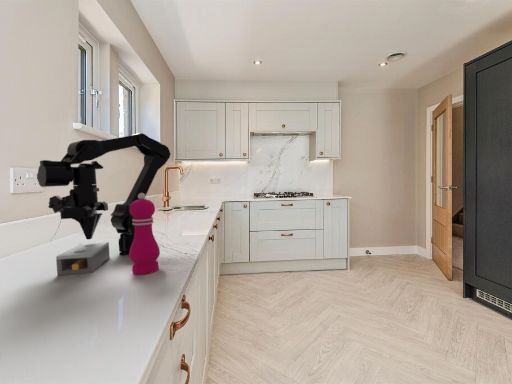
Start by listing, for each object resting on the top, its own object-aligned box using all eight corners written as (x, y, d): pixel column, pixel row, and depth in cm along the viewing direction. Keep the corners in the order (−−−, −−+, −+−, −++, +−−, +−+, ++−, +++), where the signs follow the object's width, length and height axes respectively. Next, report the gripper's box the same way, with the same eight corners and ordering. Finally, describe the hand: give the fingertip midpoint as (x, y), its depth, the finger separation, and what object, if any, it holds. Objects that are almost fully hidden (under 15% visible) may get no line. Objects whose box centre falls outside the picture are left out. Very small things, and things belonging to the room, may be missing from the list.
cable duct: (109, 257, 84) (108, 244, 84) (92, 272, 71) (91, 256, 70) (80, 259, 83) (79, 246, 83) (57, 275, 69) (56, 259, 69)
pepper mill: (166, 267, 73) (162, 191, 72) (147, 276, 66) (142, 193, 65) (144, 265, 75) (140, 192, 74) (123, 274, 68) (119, 194, 67)
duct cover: (108, 244, 84) (108, 241, 84) (91, 257, 70) (91, 253, 70) (79, 246, 82) (79, 243, 82) (56, 259, 69) (56, 255, 69)
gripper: (67, 185, 86) (71, 235, 87) (34, 187, 67) (39, 250, 68) (106, 184, 88) (110, 232, 89) (84, 185, 70) (89, 245, 71)
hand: (89, 239), depth 79 cm, fingers closed
